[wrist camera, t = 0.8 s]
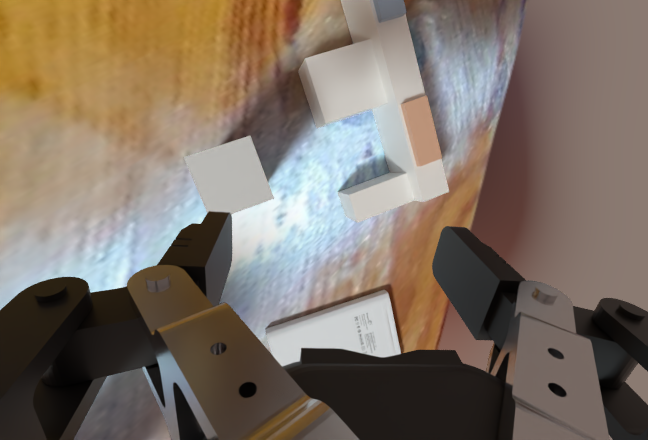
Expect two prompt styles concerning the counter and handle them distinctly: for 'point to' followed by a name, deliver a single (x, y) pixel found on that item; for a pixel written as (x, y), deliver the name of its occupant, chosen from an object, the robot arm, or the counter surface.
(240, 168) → the grey tall block
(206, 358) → the robot arm
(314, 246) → the counter surface
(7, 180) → the counter surface
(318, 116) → the socket strip
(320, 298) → the counter surface
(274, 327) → the external hard drive
